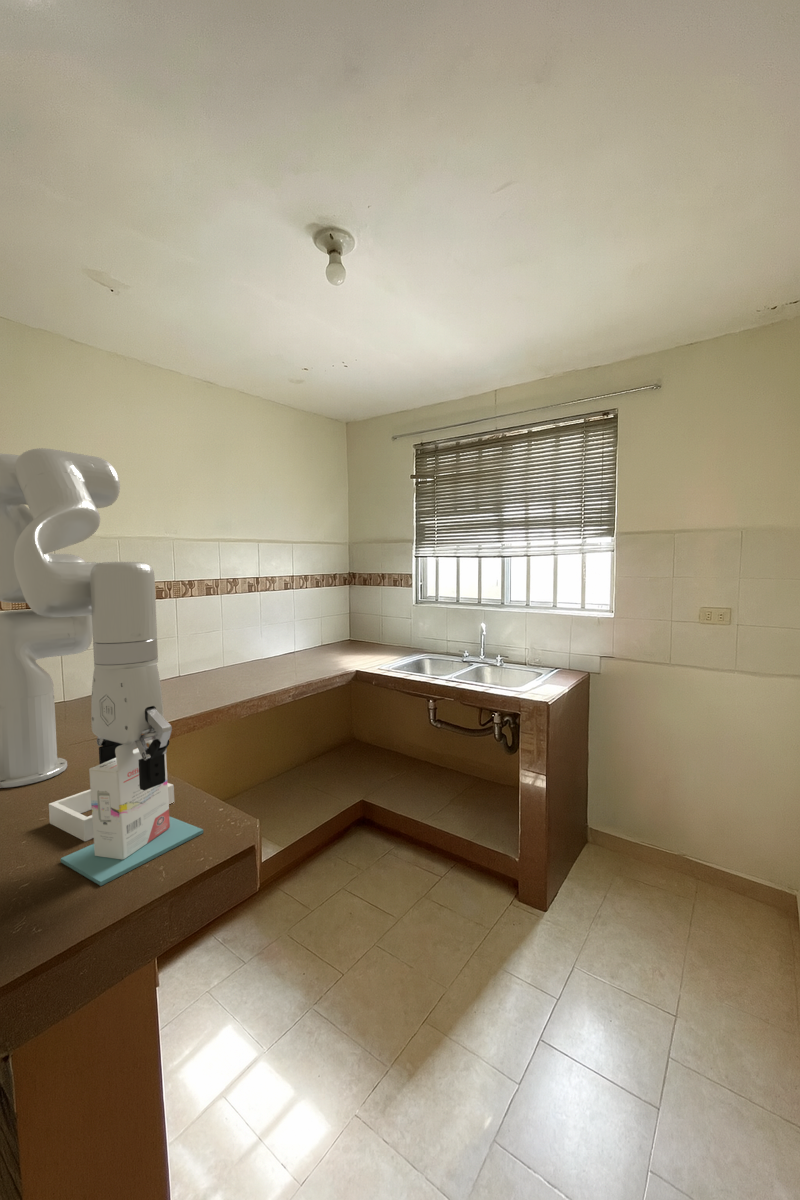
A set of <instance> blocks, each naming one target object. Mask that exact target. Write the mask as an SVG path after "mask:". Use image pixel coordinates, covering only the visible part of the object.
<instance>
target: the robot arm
mask: <svg viewBox="0 0 800 1200" xmlns="http://www.w3.org/2000/svg"><path fill="white" fill-rule="evenodd" d="M120 482H121V481H120V477H119V475H118V472H117V470H116V469H115V467H114V466H113V465H112V464H111V463H110V462H109V461H108V460H105V459H104V458H101V457H98V456H94V455H93V456H92V455H88V454H81V453H77V452H71V451H65V450H60V449H53V448H52V449H51V448H43V447H41V448H32V449H29V450H25V451H24V452H22V453H21V454H20V455H18V454H11V453H0V602H1V603H10V604H25V603H26V604H27V605H28V607H29V608H30V609H18V610H4V611H0V789H3V788H4V789H6V788H15V787H22V786H27V785H31V784H36V783H39V782H42V781H45V780H48V779H51V778H53V777H55V776H58V775H59V774H61V773H63V772H65V771H66V769H67V768H68V761H67V759H65V758H62V757H58V745H57V743H58V742H57V730H56V729H57V727H56V709H55V708H56V707H55V689H54V681H53V678H52V676H51V675H50V673H48V671H46V669H44V668H42V667H41V666H40V665H39V664H38V662H37V660H42V659H45V658H46V659H47V658H54V657H62V656H63V657H64V656H69V655H76V654H77V655H78V654H80V653H83V652H86V651H87V650H88V649H89V648H90V646H91V644H92V647H93V649H92V650H93V667H94V668H93V674H92V675H93V676H92V684H91V685H92V686H91V706H90V707H91V713H90V714H91V731H92V734H94V735H95V736H96V737H97V738H96V744H97V746H98V757H99V761H98V762H99V764H98V765H100V764H102V763H104V762H107V761H109V760H111V759H114V758H116V753H115V749H116V747H118V746H120V745H123V744H124V745H130V744H132V743H134V741H135V743H136V745H137V748H138V750H139V752H140V754H141V756H142V759H139V782H140V789H141V790H147V789H149V788H152V787H154V786H157V785H160V784H162V783H164V782H165V756H164V754H166V755H167V752H168V749H167V748H168V747H169V745H170V738H171V735H172V730H173V727H172V725H171V723H169V722H168V720H167V719H166V718H165V717H164V716H165V715H164V703H163V702H164V701H163V692H162V686H161V685H162V684H161V678H160V673H159V667H158V664H157V663H159V656H158V655H159V653H158V651H159V650H158V630H157V629H158V627H157V625H158V624H157V604H156V603H157V601H156V599H157V598H156V582H155V581H156V577H155V576H156V575H155V571H154V569H153V567H152V565H149V564H148V563H145V562H141V561H140V562H139V561H104V562H96V561H85V559H83V558H82V557H80V556H79V555H75V554H71V553H70V554H69V553H53V552H56V551H58V550H59V551H60V550H61V549H65V548H68V547H70V546H73V545H77V544H79V543H81V542H84V541H85V540H87V539H89V538H91V537H92V536H93V535H94V534H95V533H96V532H97V531H98V529H99V527H100V524H101V515H100V513H99V510H98V509H103V508H107V507H109V506H110V507H111V506H112V505H113V504H114V503H115V502H116V501H117V500H118V498H119V495H120V490H121V483H120ZM92 642H93V643H92ZM152 739H153V741H152V743H151V744H150V746H149V745H147V743H146V741H149V740H152ZM137 748H136V749H137Z"/></svg>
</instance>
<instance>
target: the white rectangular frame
mask: <svg viewBox="0 0 800 1200" xmlns="http://www.w3.org/2000/svg"><path fill="white" fill-rule="evenodd" d="M167 783H168V802H169V804H171V803H173V802H174V803H175V787H174V786H175V785H174V784H172V783H169V782H167ZM174 803H173V804H174ZM171 805H172V804H171ZM88 811H92V805H91V790H90V789H88V790H84V791H81V792H79V793H76V794H73V795H70V796H67V797H64V798H62V799H58V800H56V801H53V802H50V803H48V812H49V814H48V815H49V824H50V825H52V826H54V827H56V828H58V829H60V830H62V831H64V832H66V833H68V834H70V835H72V836H74V837H76V838H77V839H80V840H81V841H83V842H87V841H91V840H92V839H94V834H93V821H92V814H91V815H89V816H87V815H84V814H83V813H86V812H88Z"/></svg>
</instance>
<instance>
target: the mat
mask: <svg viewBox="0 0 800 1200" xmlns="http://www.w3.org/2000/svg"><path fill="white" fill-rule="evenodd" d="M169 821H170V827H169V828H168V829H167V830H166V831H164V832H163V833H162V834H160V835H159V836H157V837H156V838H154V839H153V840H151V841H150V842H149V843H147V844H146V845H144V846H143V847H141V848H140V849H138V850H137V851H136V852H134V853H133V854H131V855H130V856H128V857H127V858H125V859H123V860H121V859H114V858H107V857H100V856H95V851H94V843H92V844H90V845H87V846H86V847H83V848H81V849H79V850H76V851H74V852H72V853H70V854H68V855H65V856H63V857H61V858H60V863H61V864H63V865H65V866H66V867H68V868H70V869H72V870H73V871H75V872H77V874H80V875H81V876H82V877H83V876H84V877H85V878H86V879H88V880H90V881H91V882H93V883H95V884H97V885H99V887H102V886H105V885H106V884H108V883H111V882H112V881H113V880H115V879H118V878H119V877H121V876H123V875H125V874H126V873H129V872H131V871H132V870H134V869H137V868H138V867H140V866H142V865H144V864H146V863H148V862H150V861H153V859H156V858H158V857H160V856H161V855H164V854H166V853H167V852H169V851H171V850H174V849H175V848H177V847H179V846H181V845H184V843H186V842H188V841H191V840H192V839H194V838H197V837H198V836H201V835H203V834H204V829H203V828H201V827H199V826H196V825H194V824H193V825H192V824H190V823H188V822H186V821H183V820H181V819H178V818H175V817H172V816H170V815H169Z"/></svg>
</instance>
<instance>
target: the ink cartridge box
mask: <svg viewBox="0 0 800 1200" xmlns="http://www.w3.org/2000/svg"><path fill="white" fill-rule="evenodd" d="M152 741H153V739H152V740H149V741H146V744H148V747H149V746H150V744H151V743H152ZM115 753H116V758H114V759H111V760H109V761H107V762H104V763H102V764H97V765H95V766H92V767H90V768H89V769H88V772H89V785H90V786H89V788H90V790H91V805H92V809H91V815H92V821H93V834H94V838H93V844H94V851H95V856H100V857H107V858H114V859H121V860H123V859H125V858H127V857H128V856H130V855H131V854H133V853H134V852H136V851H137V850H138V849H140V848H141V847H143V846H144V845H146V844H147V843H149V842H150V841H151V840H153V839H154V838H156V837H157V836H159V835H160V834H162V833H163V832H164V831H166V830H167V829H168V828H169V827H170V821H169V816H170V807H169V806H170V805H169V802H168V783H169V782H168V769H167V768H168V767H167V765H168V764H167V753H166V754H164V756H165V782H164V783H162V784H160V785H157V786H154V787H152V788H149V789H147V790H141V789H140V782H139V759H142V756H141V754H140V752H139V750H138V748H137V745H136V743H135V741H134V743H132V744H130V745H124V744H123V745H120V746H118V747H116V749H115Z"/></svg>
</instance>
